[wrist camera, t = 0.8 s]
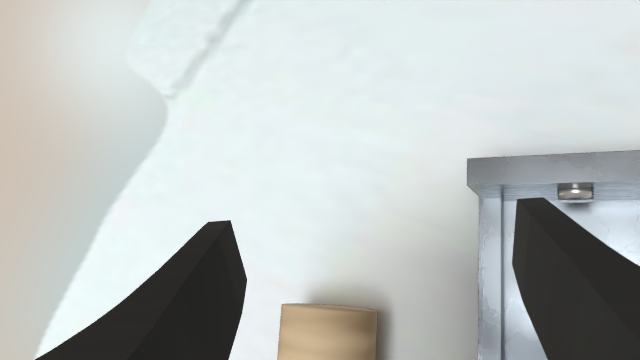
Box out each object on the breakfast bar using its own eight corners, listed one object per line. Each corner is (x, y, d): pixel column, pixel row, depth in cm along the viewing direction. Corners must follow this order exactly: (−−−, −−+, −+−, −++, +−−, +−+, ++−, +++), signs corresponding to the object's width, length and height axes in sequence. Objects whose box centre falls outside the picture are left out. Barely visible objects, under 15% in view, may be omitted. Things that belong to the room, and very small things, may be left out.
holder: (710, 494, 20) (747, 556, 15) (481, 445, 24) (455, 482, 20) (685, 160, 23) (711, 125, 18) (482, 168, 27) (460, 141, 22)
